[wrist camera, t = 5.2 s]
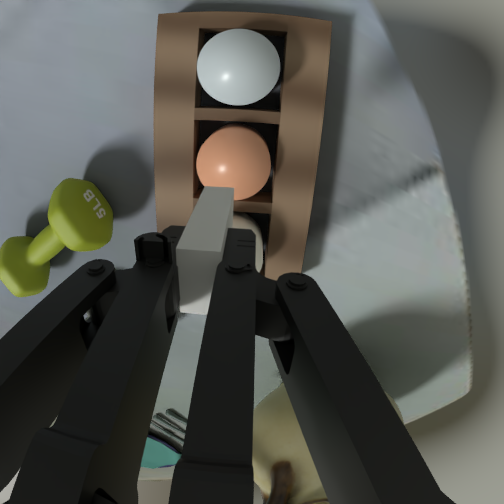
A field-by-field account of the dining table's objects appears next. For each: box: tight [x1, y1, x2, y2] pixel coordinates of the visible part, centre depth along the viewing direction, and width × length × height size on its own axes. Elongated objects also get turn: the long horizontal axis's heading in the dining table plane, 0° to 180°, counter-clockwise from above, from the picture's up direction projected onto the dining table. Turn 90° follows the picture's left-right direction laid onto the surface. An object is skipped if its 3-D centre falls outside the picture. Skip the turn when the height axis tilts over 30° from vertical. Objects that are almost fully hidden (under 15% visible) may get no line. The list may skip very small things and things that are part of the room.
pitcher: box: [252, 383, 404, 504], centre depth 35 cm, size 22×24×25 cm
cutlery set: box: [141, 410, 187, 469], centre depth 56 cm, size 20×30×2 cm, turn 126°
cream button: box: [232, 211, 263, 272], centre depth 30 cm, size 6×6×4 cm
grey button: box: [197, 29, 280, 105], centre depth 22 cm, size 6×6×4 cm
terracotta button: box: [196, 123, 271, 200], centre depth 27 cm, size 6×6×4 cm
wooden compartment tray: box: [154, 11, 332, 281], centre depth 28 cm, size 26×14×3 cm, turn 176°
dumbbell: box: [0, 178, 113, 297], centre depth 30 cm, size 16×8×7 cm, turn 119°
